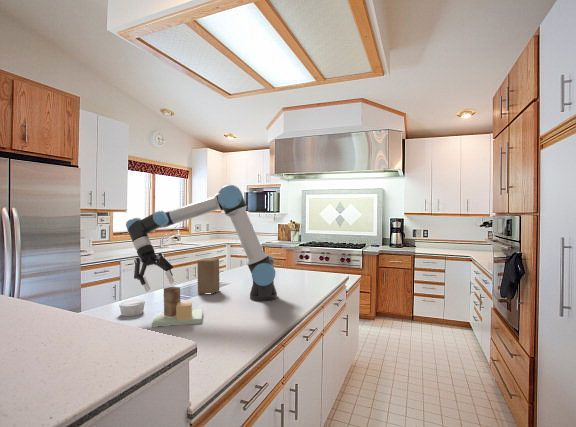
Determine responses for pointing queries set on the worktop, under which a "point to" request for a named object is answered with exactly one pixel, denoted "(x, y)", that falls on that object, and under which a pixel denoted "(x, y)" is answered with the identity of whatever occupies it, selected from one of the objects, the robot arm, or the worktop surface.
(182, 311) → the cube
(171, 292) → the pillar
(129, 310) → the ramekin
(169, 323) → the board
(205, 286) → the block
